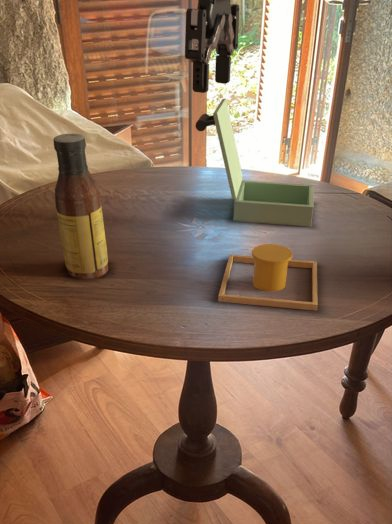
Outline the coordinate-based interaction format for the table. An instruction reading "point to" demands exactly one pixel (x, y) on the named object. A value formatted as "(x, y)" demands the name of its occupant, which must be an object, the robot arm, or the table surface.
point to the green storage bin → (274, 203)
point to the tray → (268, 301)
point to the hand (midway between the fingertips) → (211, 87)
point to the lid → (225, 143)
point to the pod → (270, 266)
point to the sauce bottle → (79, 210)
